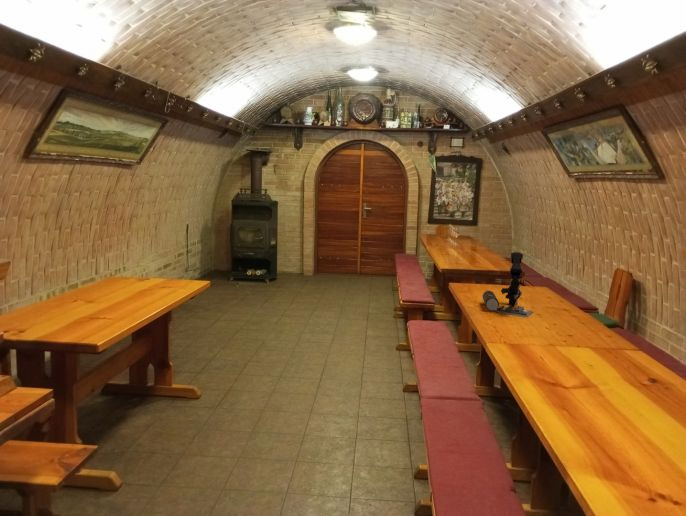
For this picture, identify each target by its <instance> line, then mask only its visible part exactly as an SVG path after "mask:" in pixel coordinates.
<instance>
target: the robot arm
mask: <svg viewBox="0 0 686 516" xmlns="http://www.w3.org/2000/svg"><path fill="white" fill-rule="evenodd" d="M523 258H524V253H521V252H518V251H514V252H511V253H510V259H511V260H510V261H511V267H510V269H509V278H510V284H509V286H508V287H502V288H501V289H500V290H501V291H500V292H501V294H502V295H505V294H506V295H505V299H507V300H508V303H506V305H508V306H510V305H512V307H514V306H515V304H516V302H517V301H519V299H520V298H521V296H523V295H522V294H523V293H522V291H521V289H520V288H521V287H520V281H521V280H520V279H521V278H522V277H523V274H524V273H523V272H524V270H523V268H522V265H521V263H522V261H523V260H524V259H523Z"/></svg>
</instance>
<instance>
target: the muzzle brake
mask: <svg viewBox="0 0 686 516" xmlns="http://www.w3.org/2000/svg"><path fill="white" fill-rule="evenodd" d="M482 300H483V302H484V307H485V309H486V310H488V311H492V312H493V311H495V310H497V309H498V308H499V307H500V302H499V299H498V298H497V296H496V294H495V293H494V292H493V291H492V290H486V291H484V292H483V294H482Z"/></svg>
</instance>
